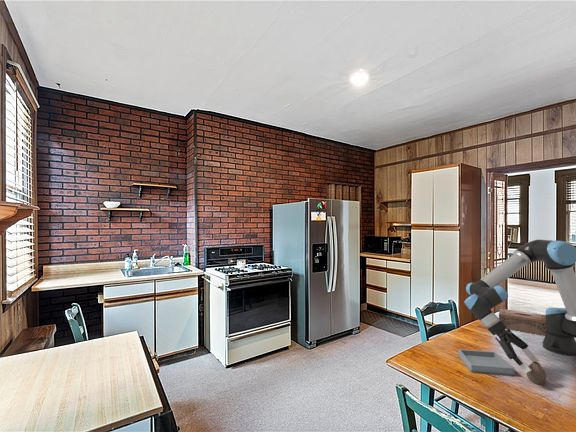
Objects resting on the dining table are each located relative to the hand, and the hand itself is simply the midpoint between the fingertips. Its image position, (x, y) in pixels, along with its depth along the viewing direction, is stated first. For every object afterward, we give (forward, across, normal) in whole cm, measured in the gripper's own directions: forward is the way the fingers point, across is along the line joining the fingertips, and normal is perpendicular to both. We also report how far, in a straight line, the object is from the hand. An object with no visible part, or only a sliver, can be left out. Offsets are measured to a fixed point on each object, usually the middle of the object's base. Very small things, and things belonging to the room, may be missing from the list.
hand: (533, 366), depth 133 cm
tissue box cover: (-10, -76, -21) cm, 79 cm away
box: (-9, 0, -19) cm, 21 cm away
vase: (+6, -1, -4) cm, 7 cm away
